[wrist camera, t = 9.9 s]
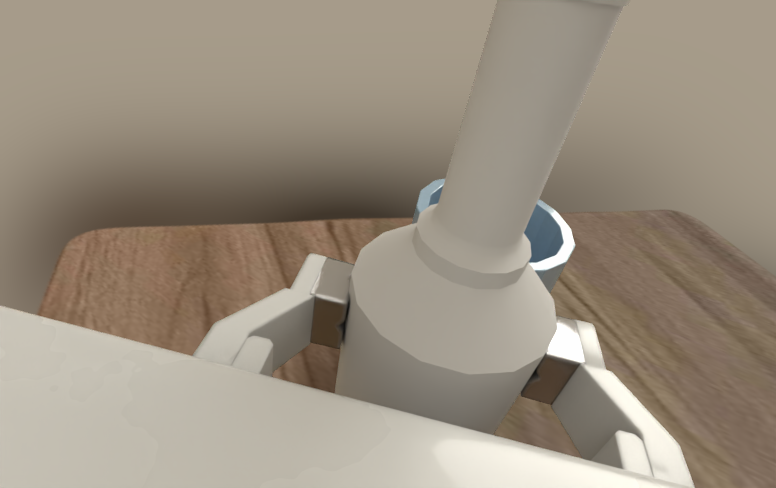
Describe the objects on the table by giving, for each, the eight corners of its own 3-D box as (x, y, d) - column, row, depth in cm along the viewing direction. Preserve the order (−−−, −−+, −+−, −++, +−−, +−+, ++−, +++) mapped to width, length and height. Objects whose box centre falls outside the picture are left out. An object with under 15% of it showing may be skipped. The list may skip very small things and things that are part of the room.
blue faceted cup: (484, 412, 28) (547, 297, 22) (362, 333, 31) (387, 214, 25) (546, 299, 38) (602, 197, 31) (447, 247, 41) (480, 146, 35)
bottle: (295, 503, 22) (375, -209, 7) (392, 470, 24) (617, -133, 9) (324, 632, 18) (622, -257, 3) (435, 581, 20) (932, -112, 5)
